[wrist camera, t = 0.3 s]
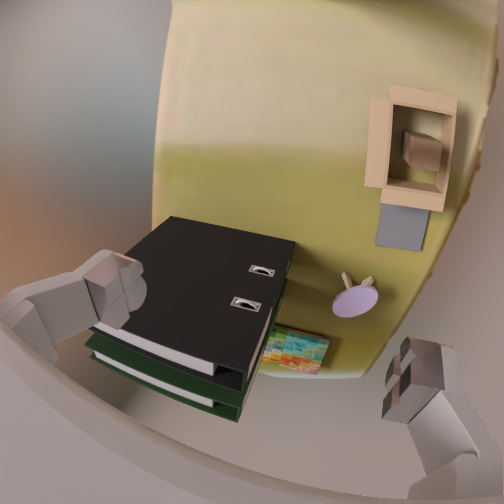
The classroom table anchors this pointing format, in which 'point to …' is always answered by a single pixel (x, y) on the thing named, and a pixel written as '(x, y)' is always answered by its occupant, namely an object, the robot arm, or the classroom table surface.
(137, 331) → the pair of binders
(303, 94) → the classroom table surface
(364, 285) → the toy table
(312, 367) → the puzzle game
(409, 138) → the walnut block
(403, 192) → the carton
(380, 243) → the mat
